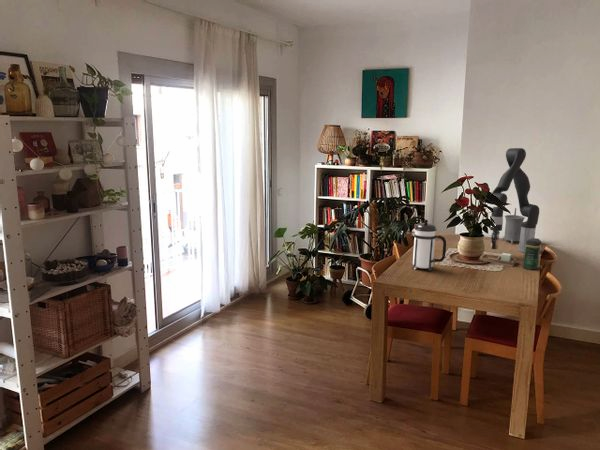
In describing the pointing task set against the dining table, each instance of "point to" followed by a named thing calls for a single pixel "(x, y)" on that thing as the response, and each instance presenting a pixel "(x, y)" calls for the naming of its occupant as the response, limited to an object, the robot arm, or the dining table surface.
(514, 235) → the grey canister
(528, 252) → the coffee jar
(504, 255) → the sage block
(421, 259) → the coffee press
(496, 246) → the peach oval shape
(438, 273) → the dining table surface
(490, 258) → the walnut tray
